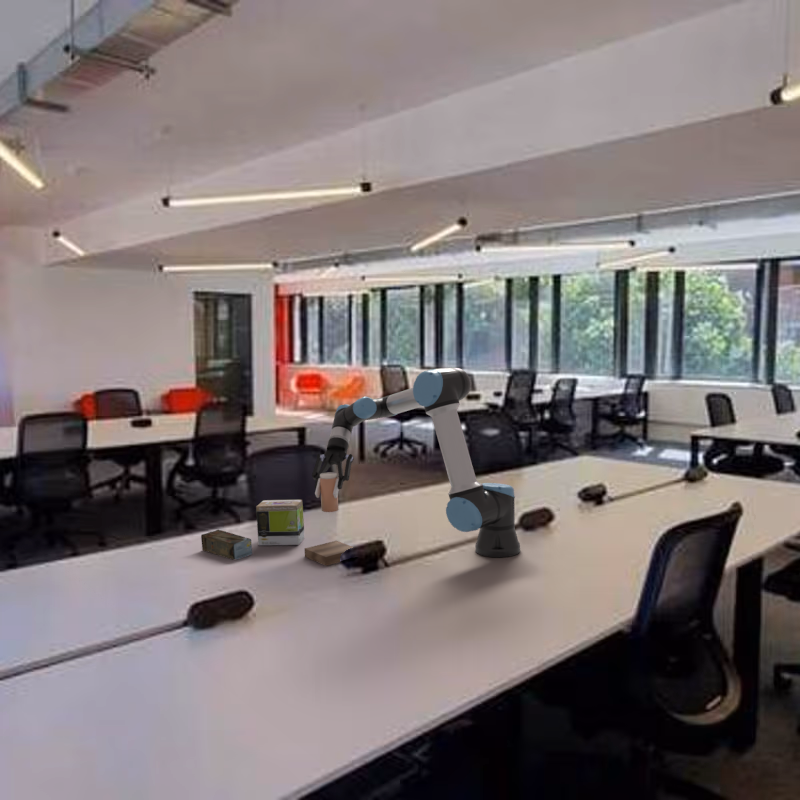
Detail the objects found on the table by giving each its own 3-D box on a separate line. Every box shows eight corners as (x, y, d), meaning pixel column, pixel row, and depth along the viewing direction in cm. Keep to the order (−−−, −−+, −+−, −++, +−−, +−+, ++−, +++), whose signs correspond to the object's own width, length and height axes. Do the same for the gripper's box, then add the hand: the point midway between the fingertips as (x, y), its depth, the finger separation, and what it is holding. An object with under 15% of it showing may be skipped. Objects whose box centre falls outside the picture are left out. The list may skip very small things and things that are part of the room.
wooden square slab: (358, 557, 262) (358, 548, 262) (326, 565, 254) (325, 556, 254) (336, 549, 272) (336, 540, 272) (304, 556, 264) (304, 548, 264)
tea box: (304, 538, 287) (303, 498, 286) (298, 546, 277) (296, 505, 276) (265, 538, 289) (263, 499, 287) (257, 546, 279) (255, 505, 277)
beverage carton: (234, 561, 262) (233, 542, 262) (200, 551, 275) (199, 533, 274) (253, 555, 268) (252, 536, 268) (219, 546, 281) (218, 528, 280)
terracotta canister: (341, 509, 276) (340, 473, 274) (327, 513, 272) (326, 476, 270) (332, 507, 280) (330, 471, 279) (318, 510, 276) (316, 474, 275)
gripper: (365, 448, 286) (354, 502, 272) (317, 448, 291) (303, 501, 277) (361, 436, 281) (349, 490, 267) (311, 436, 286) (297, 489, 271)
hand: (325, 495), depth 272 cm, fingers closed on terracotta canister, 6 cm apart
